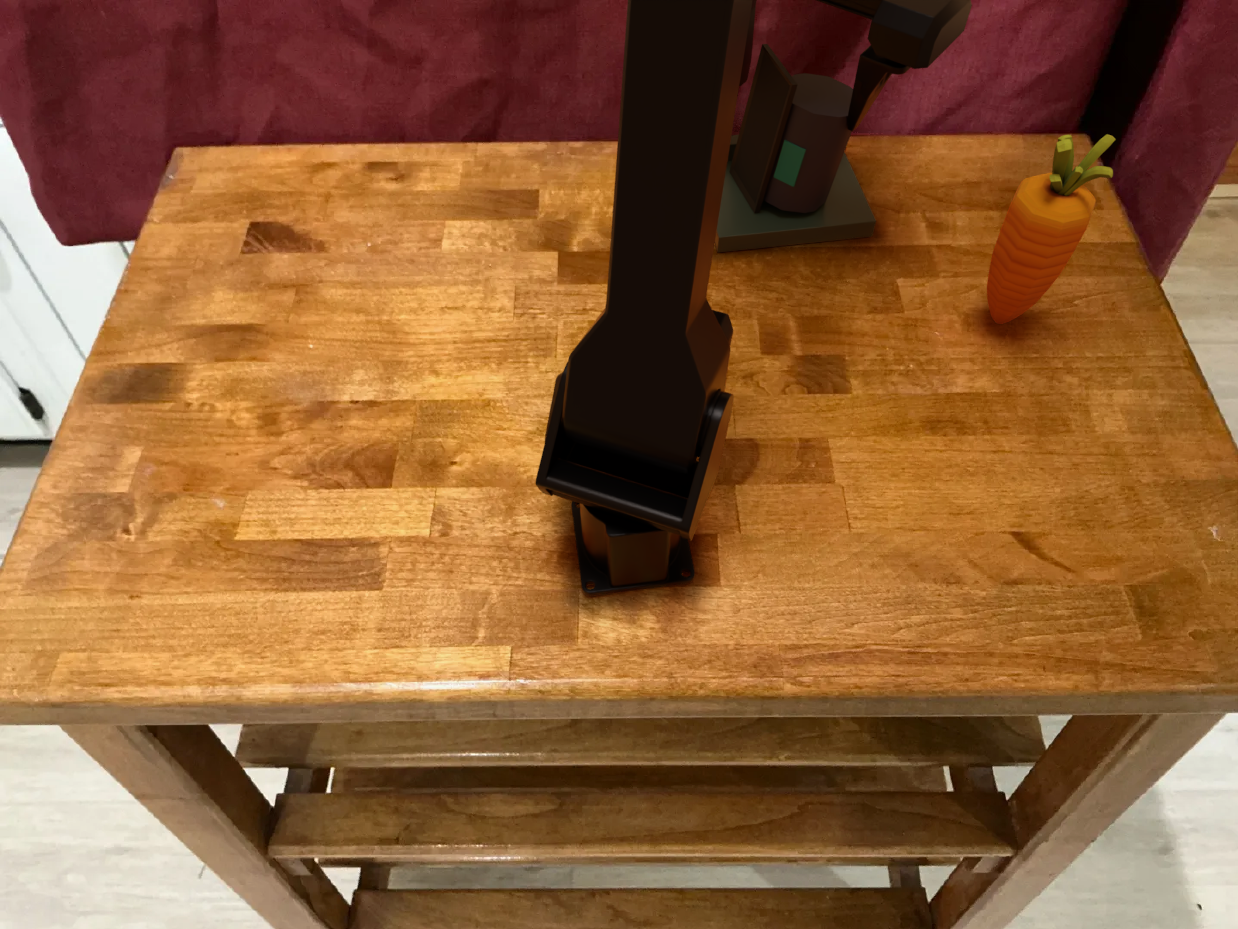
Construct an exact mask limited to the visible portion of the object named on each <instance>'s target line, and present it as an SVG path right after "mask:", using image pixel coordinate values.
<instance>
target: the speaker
mask: <svg viewBox="0 0 1238 929" xmlns="http://www.w3.org/2000/svg"><path fill="white" fill-rule="evenodd" d="M852 92H853V87H851V86H850V85H847V84H846V83H844V82H842V81H839V80H837V79H835V78H833V77H831V76H828V75H822V74H815V73H806V72H803V73H795V74H793V75H792V74H791V73H790V72H789V71H788V70H787V67H785V66H784V64H783V62H782V61H781V60H780V59H779V57H778V56H777V55H776V53H775V52H774V51H773V49H772V48H771V47H770V45H769V43H762V44H761V47H760V51H759V55H758V59H757V62H756V67H755V71H754V75H753V78H752V83H751V86H750V90H749V94H748V98H747V102H746V105H745V108H744V113H743V117H742V121H741V124H740V129H739V132H738V135H739V136H738V140H737V144H736V148H735V151H734V155H733V159H732V163H731V167H730V171H729V172H730V174H731V175H732V177H733V179H734V180H735V182H736V184H737V185H738V187H739V189H740V190H741V192H742V194H743V195H744V197H745V198H746V200H747V202H748V203H749V205H750V207H751V208H752V210H753V212H754V213H759V212H760V208H761V205H762V202H763V200H764V201H766V202H767V203H769V204H771V205H773V206H775V207H777V208H779V209H781V210H784V211H792V212H800V213H808V212H813V211H816V210H817V209H818V208H819V207H820V206H821V205H822V204H824V203H825V202H826V200H827V197H828V194H829V192H830V189H831V186H832V184H833V181H834V178H835V176H836V173H837V170H838V167H839V165H840V162H841V159H842V157H843V154H844V152H846V149H847V145H848V143H849V140H850V138H851V135H852V133H853V131H850V130H848V112H849V107H850V102H851V97H852Z"/></svg>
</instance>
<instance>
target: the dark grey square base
mask: <svg viewBox="0 0 1238 929" xmlns="http://www.w3.org/2000/svg"><path fill="white" fill-rule="evenodd" d="M738 136H739V134H732V135H731V141H730V148H729V154H728V160H727V167H726V173H725V180H724V186H723V192H722V199H721V205H720V212H719V218H718V224H717V231H716V237H715V243H714V247H715V250H716V252H717V253H727V252H736V251H746V250H754V249H767V248H775V247H785V246H795V245H803V244H805V245H806V244H812V243H813V244H815V243H823V242H834V241H844V240H851V239H852V240H854V239H862V238H871V237H873V236H874V232H875V228H876V224H877V219H876V217H875V214H874V213H873V211H872V208H871V206H870V204H869V201H868V200H867V198H866V195H865V193H864V190H863V189H862V187H861V184H860V182H859V180H858V178H857V176H856V173H855V172H854V169H853V167H852V165H851V163H850V161H849V159H848V156H847V154H846V151H844V154H843V157H842V159H841V162H840V165H839V167H838V170H837V173H836V176H835V178H834V181H833V184H832V186H831V189H830V192H829V194H828V197H827V200H826V202H825V203H824V204H822V205H821V206H820V207H819V208H818V209H817V210H816V211H813V212H808V213H800V212H792V211H784V210H781V209H779V208H777V207H775V206H773V205H771V204H769V203H767V202H766V201H764V200H763V202H762V205H761V208H760V212H759V213H754V212H753V210H752V208H751V207H750V205H749V203H748V202H747V200H746V198H745V197H744V195H743V194H742V192H741V190H740V189H739V187H738V185H737V184H736V182H735V180H734V179H733V177H732V175H731V174H730V172H729V171H730V167H731V163H732V159H733V155H734V151H735V148H736V144H737V140H738Z"/></svg>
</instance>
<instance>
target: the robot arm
mask: <svg viewBox="0 0 1238 929" xmlns="http://www.w3.org/2000/svg"><path fill="white" fill-rule="evenodd" d="M815 1H817V2H820V3H822V4H824V5H828V6H831V7H834V8H837V9H839V10H843V11H845V12H847V13H851V14H854V15H857V16H859V17H863V18H866V19H868V20H871V22H870V26H869V30H868V35H867V40H868V42H869V44H870V45H869V46H868V47H867V48H865V50H863V51H862V53H860V54H859V58H858V62H857V68H856V74H855V78H854V83H853V87H852V89H853V92H852V97H851V102H850V107H849V112H848V130H850V131H852V132H854V131H855V130H856V129H857V128H858V127H859V125H860V124H862V121H863V120H864V118H865V117H866V115H867V114H868V112H869V111H870V109H871V108H872V106H873V104H874V103H875V101H876V100H877V98H878V96H880V93H881V92H882V90H883V89H884V88H885V86H886V84H887V83H888V81H889V80H890V78H891V77H892V75H897V76H901V75H904V74H906V73H907V72H908V71H909V70H910V69H914V70H919V69H928V68H929V67H930V66H931V65H932V64H933V63H934V62H935V61H936V60H937V59H938V58H939V57H940V56H941V55H942V54H943V53H944V52H945V51H946V50H947V49H948V48H949V47H950V46H951V45H952V44H953V43H954V42H955V41H956V40H957V39H958V38H959V37H960V36H961V35H962V34H963V33H964V32H965V29H966V26H967V23H968V19H969V16H970V13H971V10H972V6H973V4H972V0H815ZM626 7H627V8H626V9H627V10H626V19H625V20H626V22H625V32H624V33H625V35H624V49H623V62H622V63H623V64H622V76H621V90H620V91H621V92H620V105H619V120H618V133H617V147H616V161H615V175H614V186H613V188H614V189H613V201H612V202H613V203H612V216H611V230H610V245H609V259H608V271H607V272H608V273H607V286H606V288H607V289H606V300H605V307H604V308H603V310H602V311H601V312H600V314H598V316H597V318H596V319H595V321H594V322H593V323H592V324H591V326H590V327H589V328H588V329H587V331H586V332H585V333H584V335H583V336H582V338H581V339H580V341H579V342H578V343H577V344H576V345H575V347H574V348H573V350H572V351H571V352H570V354H569V356H568V359H567V362H566V364H565V366H564V368H563V370H562V372H561V373H559V374H558V375H557V376H556V379H555V382H554V386H553V391H552V398H551V402H550V406H549V407H550V408H549V413H548V419H547V423H546V428H545V435H544V445H543V448H542V453H541V457H540V460H539V461H540V462H539V465H538V469H537V474H536V477H535V486H536V488H538V489H539V492H541V493H542V494H544V495H547V496H550V497H552V496H555V497H559V498H561V499H565V500H568V501H571V505H570V506H571V514H572V521H573V522H572V523H573V531H574V540H575V545H576V554H577V555H576V556H577V562H578V569H579V577H580V578H579V579H580V586H581V592H582V593H583V594H584V595H585V596H587V597H596V596H604V595H610V594H611V595H613V594H620V593H621V594H622V593H628V592H636V591H643V590H650V589H657V588H667V587H673V586H682V585H689V584H691V583H693V582H694V580H695V576H696V575H695V574H696V571H695V567H694V562H693V557H692V553H691V548H690V547H691V546H690V543H689V541H690V542H692V540H693V539H694V536H695V533H696V531H697V528H698V525H699V523H700V521H701V518H702V515H703V513H704V510H705V508H706V505H707V502H708V500H709V498H710V495H711V492H712V491H713V487H714V485H715V482H716V480H717V477H718V475H719V471H720V466H721V463H722V462H721V461H722V457H723V453H724V448H725V443H726V439H727V434H728V429H729V426H730V421H731V417H732V416H731V415H732V412H733V411H732V410H733V406H734V398H735V396H734V393H730V392H727V391H726V383H727V377H728V371H729V364H730V356H731V345H732V340H733V335H734V328H733V324H732V321H731V320H732V319H731V318H730V315H729V314H728V313H726V312H722V311H718V310H714V309H712V307H711V305H710V303H709V300H708V298H707V297H708V296H707V295H708V287H709V281H710V275H711V268H712V263H713V262H712V261H713V256H714V250H715V237H716V231H717V224H718V218H719V212H720V205H721V199H722V192H723V186H724V180H725V173H726V167H727V160H728V154H729V148H730V141H731V135H733V128H734V122H735V115H736V108H737V102H738V96H739V89H740V87H742V86H743V85H744V84H745V83H746V82H747V81H748V79H749V74H750V70H751V69H750V67H751V64H752V55H753V44H754V31H755V22H756V21H755V20H756V9H757V0H627V6H626ZM578 506H579V507H578ZM684 573H687V574H688V576H685V575H683V574H684ZM590 585H592V586H593V588H588V586H590Z"/></svg>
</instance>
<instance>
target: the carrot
mask: <svg viewBox="0 0 1238 929" xmlns="http://www.w3.org/2000/svg"><path fill="white" fill-rule="evenodd" d="M1116 140H1117V139H1116V138H1115V137H1114V136H1113V135H1110V134H1105V135H1104V136H1103V137H1102V138H1100V139H1099V140H1098V141H1097V142H1096V143H1095V144H1094V145H1093V146H1092V148H1090V150H1089V151H1088V152H1087V153H1086V155H1085V156H1084V158H1082V160H1081V161H1080V162H1079V164H1078V165H1077V166H1075V167H1074V162H1075V150H1074V149H1075V146H1074V141H1073V136H1072V135H1071V134H1064V135H1061V136H1060V137H1058V138H1057V141H1056V144H1055V147H1054V151H1053V158H1052V169H1051V172H1046V173H1042V174H1037V175H1033V176H1029V177H1026V178H1023V179H1022V180H1021V182H1020V183H1019V185H1018V187H1017V188H1016V191H1015V193H1014V196H1013V197H1012V200H1011V202H1010V204H1009V207H1008V210H1007V212H1006V215H1005V217H1004V219H1003V221H1002V225H1001V228H1000V230H999V234H998V236H997V238H996V242H995V245H994V248H993V250H992V253H991V257H990V258H991V259H990V263H989V268H988V275H987V282H986V298H987V305H988V310H989V313H990V317H991V319H992V320H993V321H994V323H995V324H997V325H1003V324H1007V323H1009V322H1011V321H1014V319H1017V318H1018V317H1020V316H1022V315H1024V314H1025V313H1026V312H1028V310H1030V309H1031V308H1032V307H1033V306H1034V305H1037V303H1038V302H1039V300H1041V299H1042V297H1043V296H1044V295H1045V294H1046V293H1047V291H1048V290H1049V289H1050V288H1051V287H1052V286H1053V284H1054V283H1055V282H1056V281H1057V279H1058V278H1059V277H1060V275H1061V274H1062V272H1063V270H1064V269H1065V267H1066V266H1067V264H1068V262H1069V260H1070V259H1071V257H1073V256H1072V255H1073V254H1074V252H1075V250H1076V249H1077V247H1078V245H1079V243H1080V242H1081V240H1082V238H1083V236H1084V235H1085V232H1086V231H1087V229H1088V226H1089V223H1090V221H1091V218H1092V215H1093V212H1094V209H1095V208H1096V202H1097V198H1095V196H1094V195H1093V193H1091V191H1090V190H1089V189H1088V188H1087V186H1085V184H1086V183H1088V182H1091V181H1093V180H1096V179H1100V178H1106V179H1112V178H1113V177H1114V169H1113V168H1112V167H1110V166H1105V165H1095V166H1093V167H1092V165H1093V164H1094V163H1095V162H1096V161H1097V160H1098V159H1099V158H1100V157H1101V155H1103V153H1105V152H1106V151H1107V150H1108V149H1109V148H1110V147H1111V146H1112V145H1113V143H1114V142H1115V141H1116ZM1090 167H1091V168H1090Z"/></svg>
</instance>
